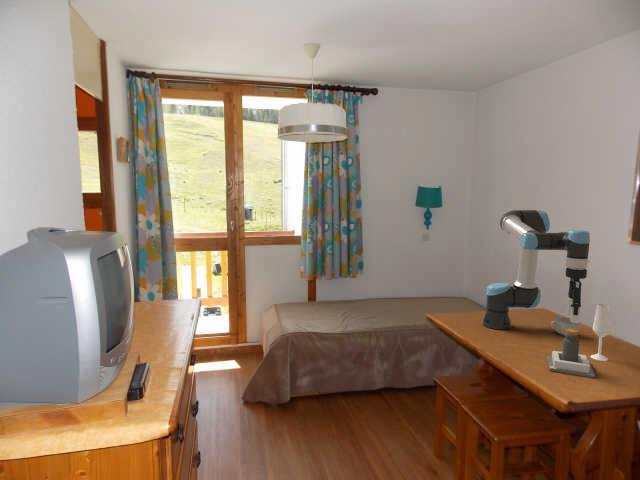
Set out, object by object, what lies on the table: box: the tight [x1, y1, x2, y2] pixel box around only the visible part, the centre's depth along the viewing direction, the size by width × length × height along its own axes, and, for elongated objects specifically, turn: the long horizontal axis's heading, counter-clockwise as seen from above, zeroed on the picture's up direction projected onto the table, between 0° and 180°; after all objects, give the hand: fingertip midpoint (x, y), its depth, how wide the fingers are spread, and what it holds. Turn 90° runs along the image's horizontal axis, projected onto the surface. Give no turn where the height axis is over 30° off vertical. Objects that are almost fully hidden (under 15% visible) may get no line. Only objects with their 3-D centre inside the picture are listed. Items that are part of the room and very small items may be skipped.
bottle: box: [561, 329, 580, 363], centre depth 179 cm, size 6×6×15 cm
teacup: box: [549, 316, 580, 337], centre depth 220 cm, size 14×11×8 cm
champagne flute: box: [590, 303, 612, 362], centre depth 188 cm, size 7×7×24 cm
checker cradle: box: [546, 350, 596, 379], centre depth 179 cm, size 16×16×4 cm
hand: (572, 317), depth 177 cm, fingers open, 13 cm apart
